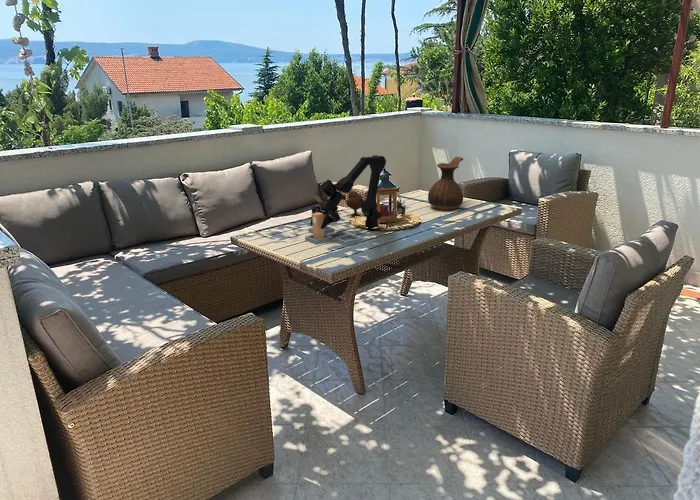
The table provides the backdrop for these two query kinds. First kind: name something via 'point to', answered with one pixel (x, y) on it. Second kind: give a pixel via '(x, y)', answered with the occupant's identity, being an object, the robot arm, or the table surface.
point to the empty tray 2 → (348, 239)
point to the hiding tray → (319, 241)
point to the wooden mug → (319, 202)
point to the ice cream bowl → (354, 202)
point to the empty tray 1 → (326, 230)
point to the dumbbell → (400, 207)
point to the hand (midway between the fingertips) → (316, 226)
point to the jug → (446, 188)
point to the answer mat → (337, 234)
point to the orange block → (317, 226)
